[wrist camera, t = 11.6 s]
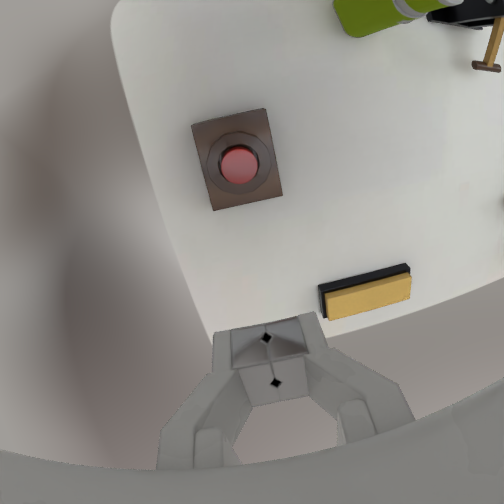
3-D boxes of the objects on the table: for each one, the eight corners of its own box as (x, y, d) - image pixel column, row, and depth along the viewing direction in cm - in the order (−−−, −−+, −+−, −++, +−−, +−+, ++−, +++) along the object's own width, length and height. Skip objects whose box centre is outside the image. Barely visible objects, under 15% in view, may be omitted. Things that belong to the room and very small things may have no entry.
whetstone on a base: (317, 285, 44) (323, 297, 41) (405, 262, 43) (415, 272, 41) (320, 312, 46) (325, 324, 43) (404, 289, 46) (412, 300, 43)
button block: (193, 124, 33) (188, 126, 29) (263, 108, 33) (267, 109, 29) (214, 205, 37) (212, 217, 34) (279, 190, 37) (285, 200, 34)
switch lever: (491, 66, 26) (502, 77, 25) (467, 63, 26) (478, 74, 25) (511, -6, 16) (525, 3, 15) (486, -16, 16) (500, -7, 15)
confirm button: (217, 150, 31) (217, 153, 30) (252, 143, 31) (253, 145, 29) (225, 183, 33) (225, 187, 31) (259, 175, 33) (260, 180, 31)
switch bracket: (478, 31, 27) (540, 28, 16) (428, 22, 27) (492, 10, 16) (471, 5, 25) (532, -4, 14) (420, -6, 25) (481, -26, 14)
